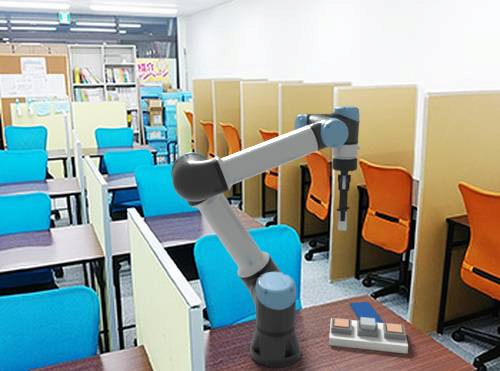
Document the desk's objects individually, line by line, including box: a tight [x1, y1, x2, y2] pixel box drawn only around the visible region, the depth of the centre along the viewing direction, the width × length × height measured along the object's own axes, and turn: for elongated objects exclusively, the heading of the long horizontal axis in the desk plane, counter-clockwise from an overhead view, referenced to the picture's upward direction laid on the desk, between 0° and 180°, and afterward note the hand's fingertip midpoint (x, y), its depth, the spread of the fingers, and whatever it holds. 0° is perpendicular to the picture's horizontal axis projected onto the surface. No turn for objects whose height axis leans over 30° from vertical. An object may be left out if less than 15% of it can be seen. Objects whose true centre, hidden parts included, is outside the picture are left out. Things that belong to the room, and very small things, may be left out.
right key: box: [386, 322, 403, 334], centre depth 144 cm, size 4×4×2 cm
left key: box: [334, 317, 349, 328], centre depth 147 cm, size 4×4×2 cm
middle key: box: [360, 317, 376, 331], centre depth 145 cm, size 4×4×2 cm
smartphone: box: [349, 301, 384, 323], centre depth 161 cm, size 7×1×15 cm
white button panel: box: [328, 317, 409, 354], centre depth 146 cm, size 23×12×4 cm, turn 78°
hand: (342, 229), depth 149 cm, fingers closed
